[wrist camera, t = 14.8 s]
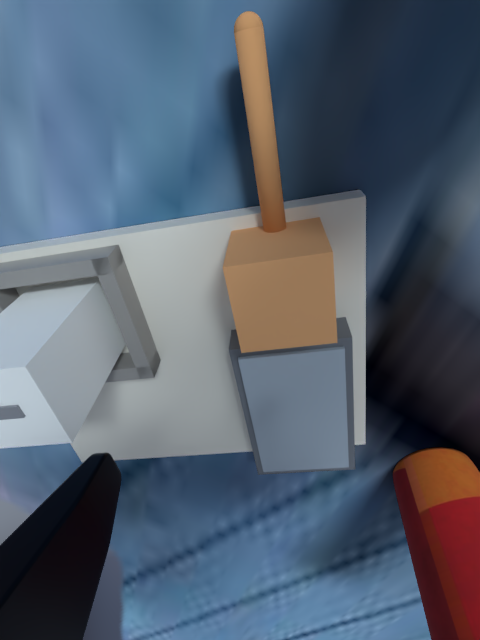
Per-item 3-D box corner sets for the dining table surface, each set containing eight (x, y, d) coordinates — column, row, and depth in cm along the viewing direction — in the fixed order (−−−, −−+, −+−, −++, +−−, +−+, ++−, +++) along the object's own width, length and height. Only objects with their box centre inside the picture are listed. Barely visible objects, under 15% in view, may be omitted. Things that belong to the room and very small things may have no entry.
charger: (100, 277, 19) (23, 368, 13) (127, 341, 21) (71, 445, 15) (29, 287, 19) (-77, 379, 13) (62, 348, 22) (-17, 451, 16)
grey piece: (345, 317, 19) (353, 339, 18) (349, 445, 24) (355, 472, 23) (231, 329, 20) (228, 352, 18) (258, 451, 25) (258, 477, 24)
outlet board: (360, 189, 17) (374, 206, 15) (361, 429, 25) (370, 464, 23) (-28, 251, 20) (-66, 273, 18) (88, 448, 28) (73, 480, 26)
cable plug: (305, 0, 13) (318, -29, 9) (324, 295, 19) (337, 342, 15) (191, 27, 13) (165, 9, 10) (245, 305, 19) (241, 352, 16)
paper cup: (432, 513, 30) (538, 793, 18) (355, 480, 28) (418, 764, 17) (515, 462, 26) (719, 774, 14) (433, 419, 24) (587, 734, 13)
